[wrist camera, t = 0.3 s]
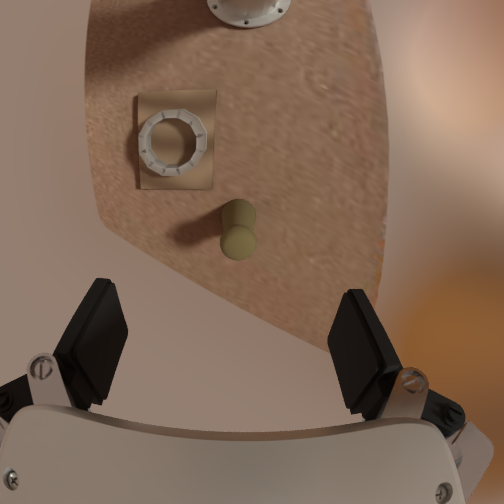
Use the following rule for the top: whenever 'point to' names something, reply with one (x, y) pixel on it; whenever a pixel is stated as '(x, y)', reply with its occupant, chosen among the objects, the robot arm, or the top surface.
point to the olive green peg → (238, 229)
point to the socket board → (176, 139)
